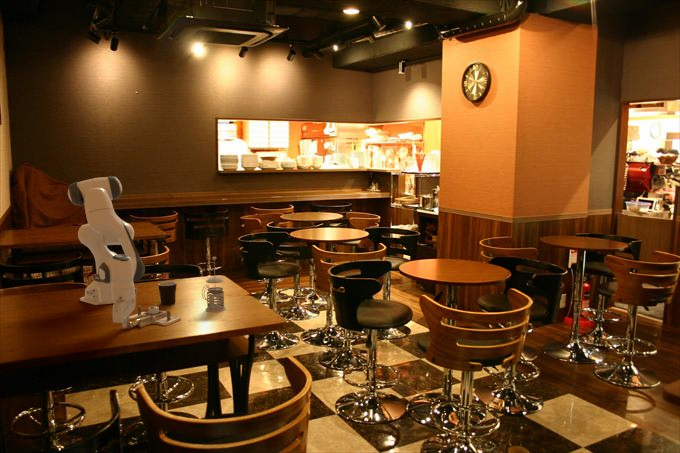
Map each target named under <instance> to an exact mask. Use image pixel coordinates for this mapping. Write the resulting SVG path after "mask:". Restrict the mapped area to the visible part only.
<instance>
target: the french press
mask: <svg viewBox="0 0 680 453" xmlns="http://www.w3.org/2000/svg"><path fill="white" fill-rule="evenodd" d="M211 258H212V260H213V270H214V276H211V277H210V278H208V279H206V280H205V281H206V282H205V283H207V284H206V285H203V287H202V290H201V295H202V298H203V299H204V300H205V301H206V302H207V304H206V306H207V307H206V308H205V311H206V312H208V313H218V312H219V313H220V312H224V311H226V310H227V307H226V306H225V293H224V292H225V291H224V287H218V286H214V287H210V285H208V284H221V283H223V282H224V280H225V279H223V278H221V277H218V276H216V269H215V268H216V267H215V266H216V265H215V264H216V263H215V260H217V257H216V256H212V257H211ZM206 289H207V292H206ZM205 292H206V296H205Z"/></svg>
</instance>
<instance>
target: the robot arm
mask: <svg viewBox="0 0 680 453" xmlns="http://www.w3.org/2000/svg"><path fill="white" fill-rule="evenodd" d="M122 193H123V185H122V183H121V181H120V180H119V179H118V177H117V176H110V175H109V176H106V177H105V176H103V177H94V178H90V179H85V180H82V181H76V182H73V183H71V184H69V186H68V189H67V196H68V199H69V200H70V202H71V203H72V204H73V205H75V206H77V207H83V206H84V210H85V215H86V220H87V223H86V224H82V225H81V226H80V227H79V229H78V231H77V238H78V240H79V242H80V243H81V244H83V245H84V246H85V247H87V248H88V249H89V251H91V253H92V254H93V258H94V260H95V269H96V270H95V271H96V273H94V274H92V277H94V279H93V281H92V282H91V283H90V284H89V285H88V286H86V288H85V289H84V296H82V297H80V298H79V300H80V301H81V302H85V303H88V304H90V305H94V306H98V305H108V304H109V305H110V304H113V305H112V322H113V323H114V324H115V323H116V324H121V328H124V329H126V328H127V326H128V322H129V321H130V320H129V316H131V314H132V312H134V311H135V310H136V306H137V303H136V302H137V293H138V292H137V291H138V288H135V283H134V281H140V279H141V278H142V277H143V276H144V274H145V272H146V266H145V263H144V262H143V259H142V258H141V257H140V254H139V252H138V250H137V248H136V245H135V243H134V237H135V229H134V228H133V225H131V224H130V223H128V222H126V221H125V220H123V219H121V218H120V217H119V216H118V215H117V213H116V211H115V209H114V206H113V203H112V200H116V199H120V197H121V196H122ZM114 245H117V246H121V247H122V251H123V253H124V254H123V253H120V254H119V253H118V254H117V253H116V252H114V251H113V250H112V251H111V250H110V249H109V248H108V246H114ZM80 301H79V302H80Z"/></svg>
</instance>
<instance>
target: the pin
mask: <svg viewBox="0 0 680 453" xmlns="http://www.w3.org/2000/svg"><path fill="white" fill-rule="evenodd" d="M142 318H145V317H142ZM142 318H139V319H142ZM139 319H137V320H134V321H131V320H129V321H128V326H127V327H126V328H127V329H128V330H132V329H133V328H134V327H136V326H139Z"/></svg>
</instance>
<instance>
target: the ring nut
mask: <svg viewBox="0 0 680 453" xmlns="http://www.w3.org/2000/svg"><path fill="white" fill-rule="evenodd" d="M159 311H160V307H159V306H157V305H153V306H148V310H147V312H148V314H149V315H152V316H155V315H158V314H159Z"/></svg>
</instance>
